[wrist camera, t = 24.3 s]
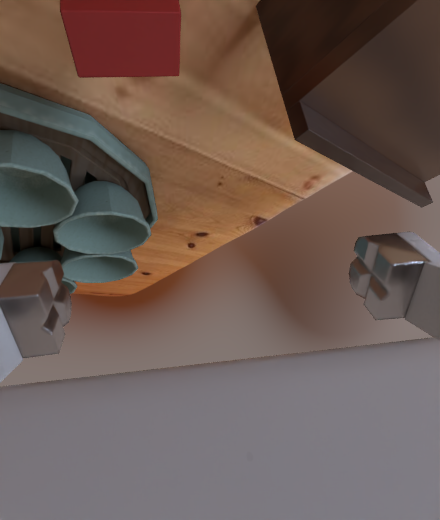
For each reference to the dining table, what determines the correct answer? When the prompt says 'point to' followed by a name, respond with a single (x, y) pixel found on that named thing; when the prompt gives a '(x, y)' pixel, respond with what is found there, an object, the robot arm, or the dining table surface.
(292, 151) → the dining table surface
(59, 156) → the tea set
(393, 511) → the robot arm
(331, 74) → the shelf
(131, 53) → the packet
